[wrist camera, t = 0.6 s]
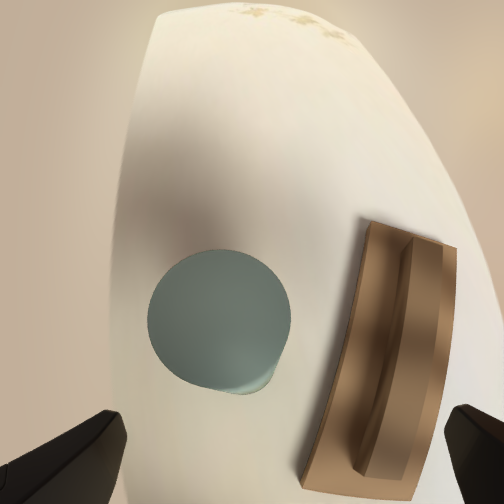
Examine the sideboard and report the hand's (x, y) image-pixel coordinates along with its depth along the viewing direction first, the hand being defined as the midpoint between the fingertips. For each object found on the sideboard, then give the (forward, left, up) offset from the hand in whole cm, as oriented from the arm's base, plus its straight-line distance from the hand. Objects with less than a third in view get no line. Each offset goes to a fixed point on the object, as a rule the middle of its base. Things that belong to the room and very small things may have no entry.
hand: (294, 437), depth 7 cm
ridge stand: (0, -9, -14) cm, 16 cm away
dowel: (+4, +1, -14) cm, 14 cm away
